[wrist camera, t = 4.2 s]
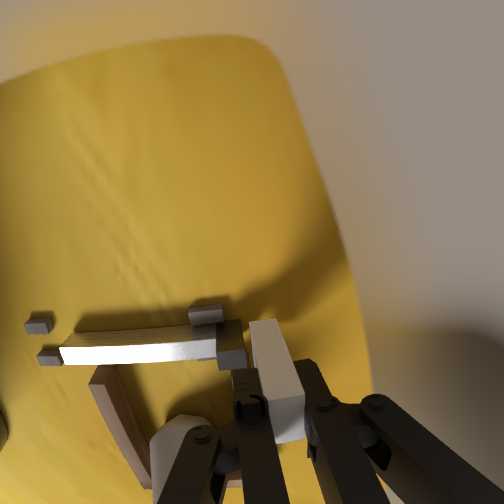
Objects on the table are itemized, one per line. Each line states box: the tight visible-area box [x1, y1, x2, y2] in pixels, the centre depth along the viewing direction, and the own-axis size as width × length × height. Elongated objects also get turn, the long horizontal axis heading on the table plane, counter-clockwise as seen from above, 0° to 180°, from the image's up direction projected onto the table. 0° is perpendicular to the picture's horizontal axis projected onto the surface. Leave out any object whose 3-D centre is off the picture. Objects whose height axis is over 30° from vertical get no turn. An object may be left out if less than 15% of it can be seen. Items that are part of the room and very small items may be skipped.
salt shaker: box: [150, 414, 213, 504], centre depth 15 cm, size 6×6×13 cm
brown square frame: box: [24, 304, 251, 489], centre depth 19 cm, size 15×16×2 cm
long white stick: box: [60, 319, 247, 371], centre depth 17 cm, size 12×1×3 cm, turn 95°
